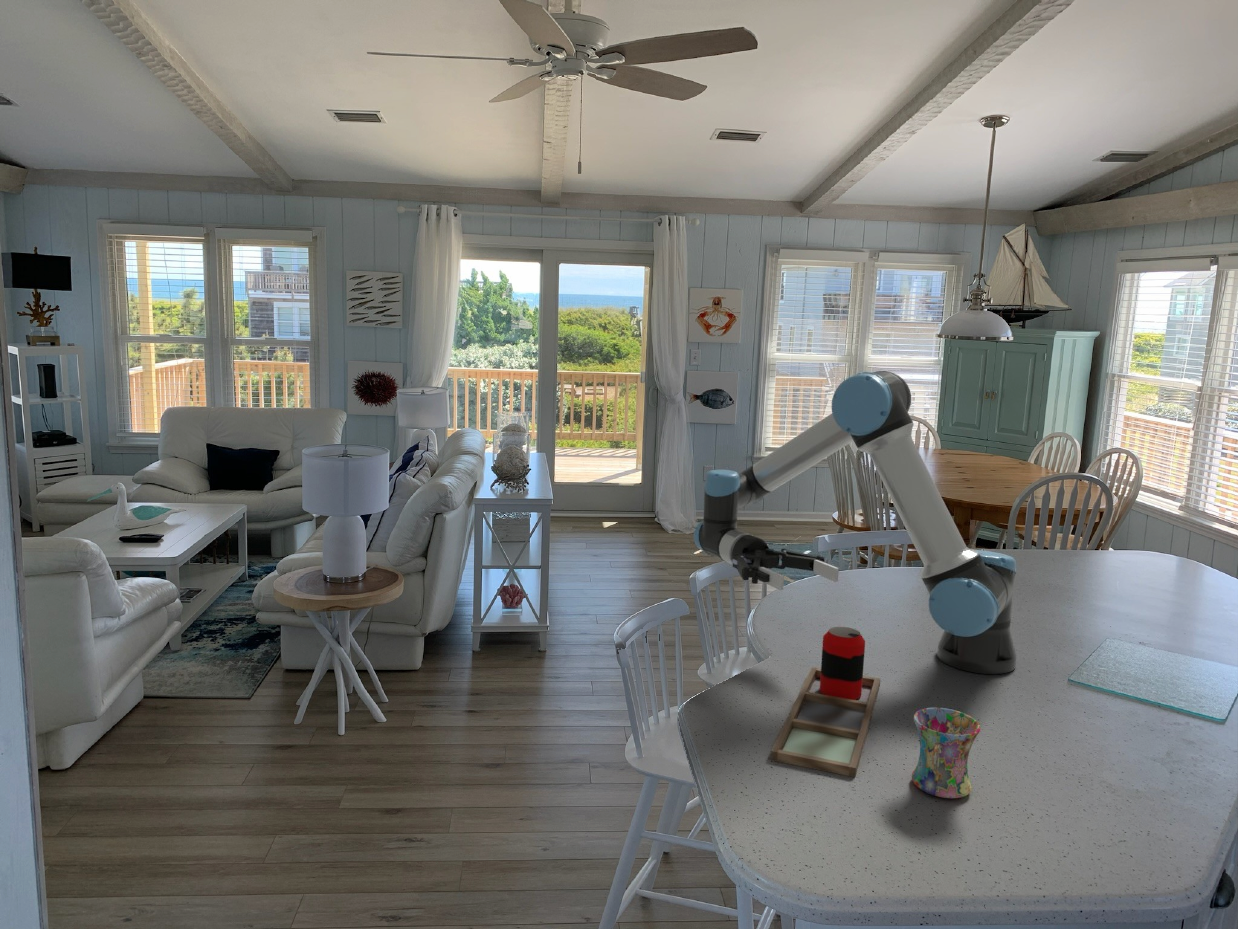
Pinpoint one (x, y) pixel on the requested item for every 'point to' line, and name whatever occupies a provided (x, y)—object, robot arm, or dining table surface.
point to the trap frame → (826, 729)
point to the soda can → (842, 663)
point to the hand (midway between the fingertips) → (810, 579)
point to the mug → (944, 751)
